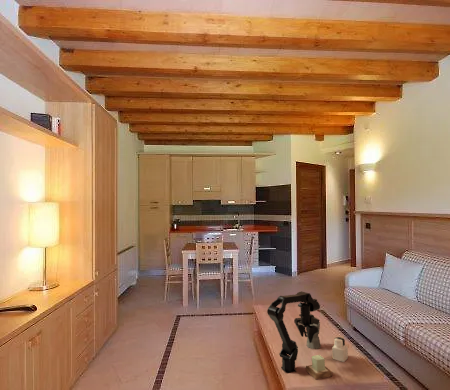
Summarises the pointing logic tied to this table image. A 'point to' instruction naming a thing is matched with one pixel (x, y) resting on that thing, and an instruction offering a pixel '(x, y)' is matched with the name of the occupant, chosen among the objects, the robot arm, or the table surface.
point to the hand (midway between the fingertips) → (306, 339)
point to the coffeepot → (315, 341)
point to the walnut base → (318, 372)
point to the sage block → (318, 363)
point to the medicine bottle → (339, 350)
